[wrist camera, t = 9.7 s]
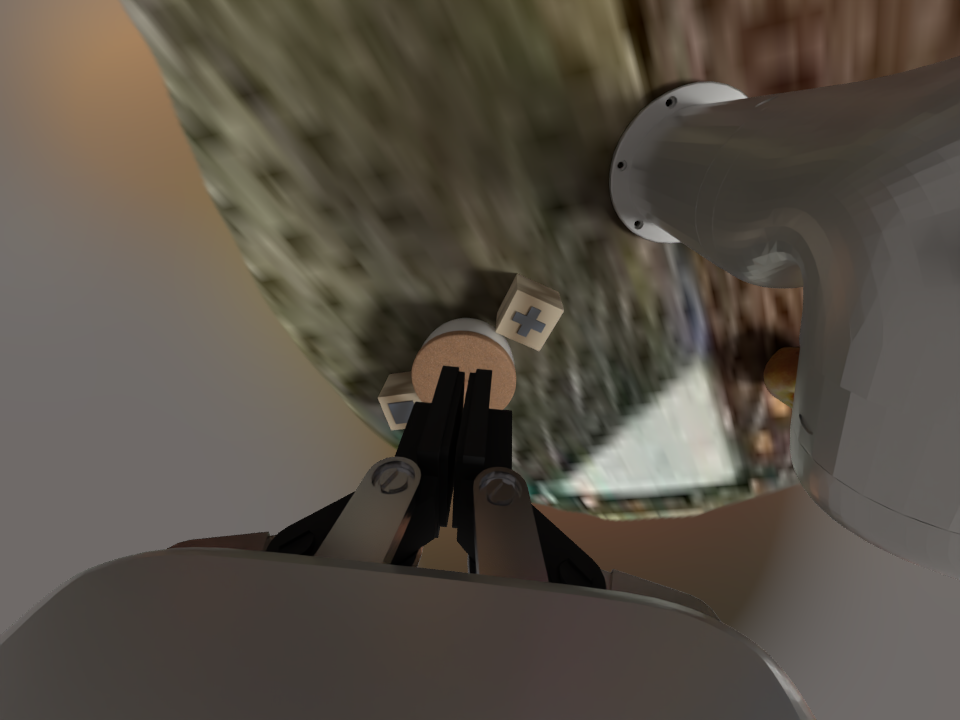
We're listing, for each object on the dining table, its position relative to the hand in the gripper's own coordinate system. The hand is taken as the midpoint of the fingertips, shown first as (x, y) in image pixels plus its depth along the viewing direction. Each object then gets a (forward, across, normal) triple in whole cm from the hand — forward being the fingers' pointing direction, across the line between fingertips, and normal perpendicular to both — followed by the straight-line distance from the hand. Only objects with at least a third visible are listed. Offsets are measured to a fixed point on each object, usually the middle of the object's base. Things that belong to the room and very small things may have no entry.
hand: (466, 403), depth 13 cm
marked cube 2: (+29, -4, +8) cm, 31 cm away
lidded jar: (+29, +2, +14) cm, 33 cm away
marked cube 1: (+29, +9, +21) cm, 37 cm away
